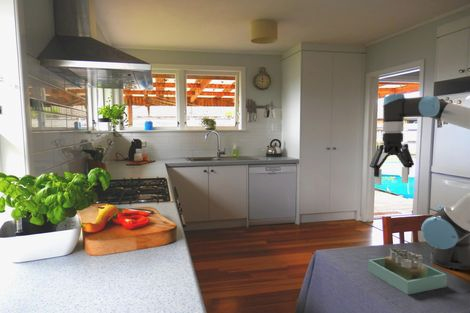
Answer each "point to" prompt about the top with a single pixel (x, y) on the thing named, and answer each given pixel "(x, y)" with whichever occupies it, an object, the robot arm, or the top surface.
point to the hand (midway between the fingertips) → (391, 183)
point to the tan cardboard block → (405, 270)
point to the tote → (430, 282)
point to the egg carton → (401, 257)
